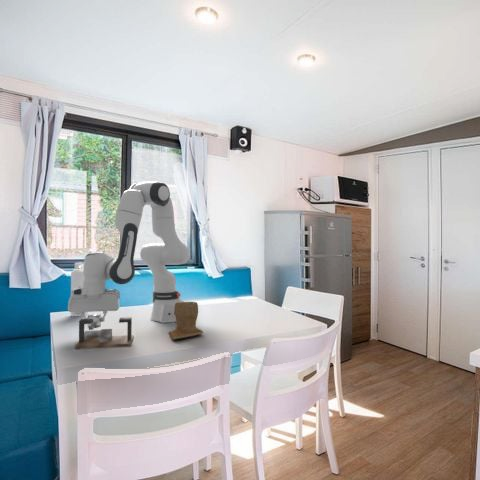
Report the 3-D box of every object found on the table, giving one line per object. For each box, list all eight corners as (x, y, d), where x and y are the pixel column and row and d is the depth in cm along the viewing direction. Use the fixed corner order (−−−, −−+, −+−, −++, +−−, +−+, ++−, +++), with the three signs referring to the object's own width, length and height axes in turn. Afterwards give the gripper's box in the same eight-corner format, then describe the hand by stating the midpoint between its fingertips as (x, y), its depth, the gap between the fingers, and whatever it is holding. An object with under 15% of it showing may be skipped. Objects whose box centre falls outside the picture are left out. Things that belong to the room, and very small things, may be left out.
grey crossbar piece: (97, 330, 136) (97, 318, 136) (84, 330, 135) (84, 318, 135) (103, 322, 147) (103, 311, 147) (90, 323, 146) (90, 312, 146)
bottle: (76, 317, 171) (76, 263, 171) (67, 315, 175) (67, 262, 175) (90, 314, 178) (91, 262, 178) (81, 312, 182) (82, 261, 182)
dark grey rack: (133, 337, 139) (133, 315, 139) (130, 346, 128) (130, 321, 128) (82, 339, 135) (82, 316, 135) (74, 349, 124) (74, 323, 124)
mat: (107, 331, 147) (107, 330, 147) (103, 337, 138) (103, 336, 138) (85, 332, 145) (85, 330, 145) (80, 338, 136) (80, 337, 136)
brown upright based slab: (192, 330, 151) (192, 297, 151) (206, 336, 142) (206, 301, 141) (161, 335, 141) (162, 301, 141) (174, 343, 132) (175, 306, 132)
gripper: (121, 287, 146) (120, 318, 146) (71, 288, 142) (70, 320, 142) (119, 290, 140) (118, 322, 140) (66, 291, 136) (66, 324, 136)
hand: (94, 321), depth 141 cm, fingers closed on grey crossbar piece, 5 cm apart
